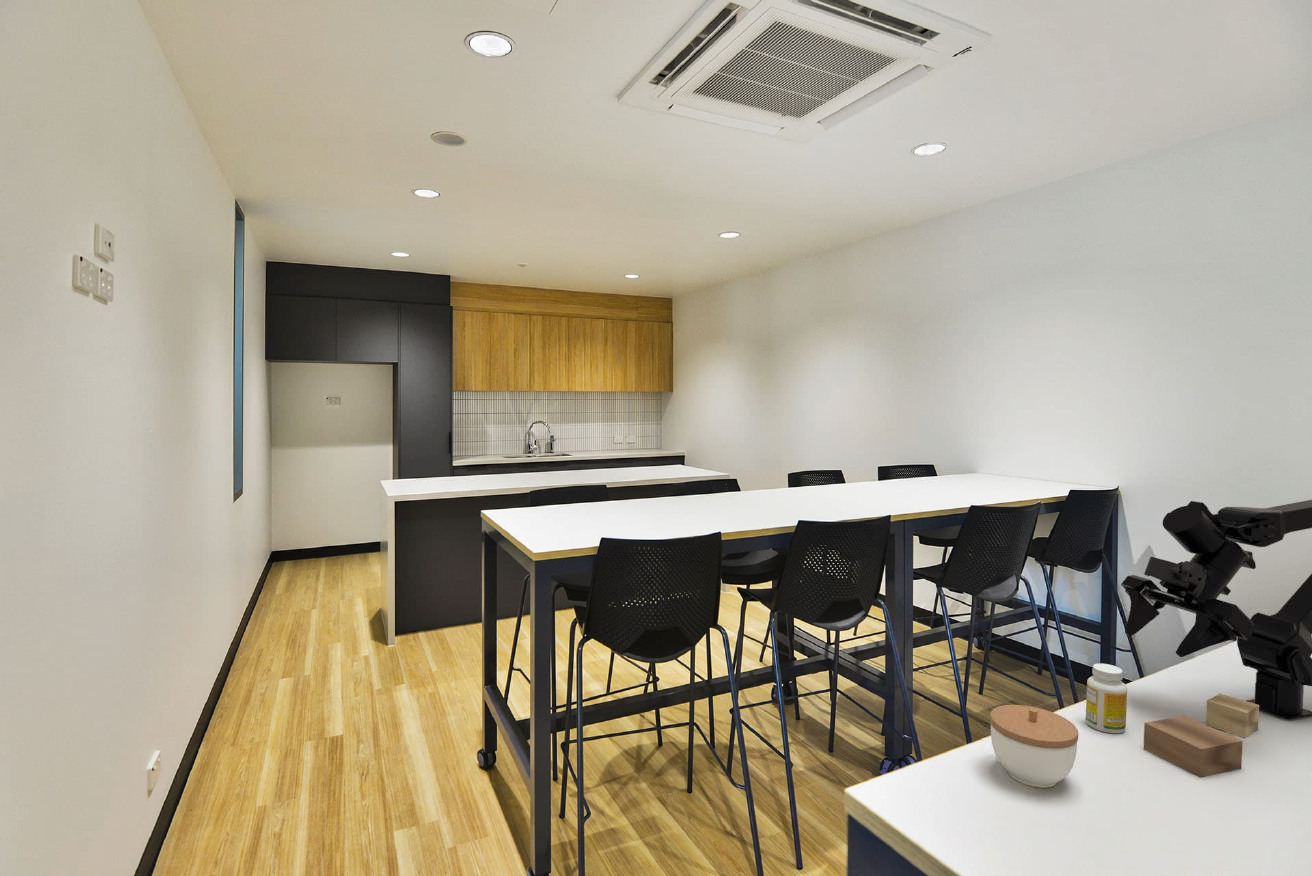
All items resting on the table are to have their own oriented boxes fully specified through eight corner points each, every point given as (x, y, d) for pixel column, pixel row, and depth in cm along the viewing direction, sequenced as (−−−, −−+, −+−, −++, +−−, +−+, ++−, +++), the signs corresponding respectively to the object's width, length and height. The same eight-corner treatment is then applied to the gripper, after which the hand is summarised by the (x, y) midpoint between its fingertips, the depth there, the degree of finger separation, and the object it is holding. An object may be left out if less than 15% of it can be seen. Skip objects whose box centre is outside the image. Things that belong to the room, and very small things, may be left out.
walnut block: (1182, 740, 102) (1183, 715, 102) (1241, 768, 94) (1242, 740, 94) (1143, 748, 100) (1144, 722, 99) (1200, 777, 92) (1201, 749, 92)
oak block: (1219, 717, 109) (1220, 693, 109) (1258, 729, 105) (1259, 705, 105) (1206, 724, 107) (1207, 700, 107) (1245, 737, 103) (1246, 712, 102)
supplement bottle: (1080, 725, 107) (1082, 667, 106) (1092, 715, 110) (1093, 658, 110) (1119, 738, 103) (1121, 677, 102) (1130, 727, 106) (1132, 668, 106)
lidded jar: (1026, 802, 86) (1028, 732, 86) (972, 759, 97) (973, 696, 96) (1096, 792, 88) (1098, 724, 88) (1035, 751, 99) (1037, 690, 98)
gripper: (1129, 529, 116) (1075, 597, 115) (1238, 552, 98) (1174, 633, 97) (1168, 569, 118) (1115, 636, 117) (1282, 599, 100) (1220, 679, 99)
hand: (1151, 644), depth 107 cm, fingers open, 9 cm apart
